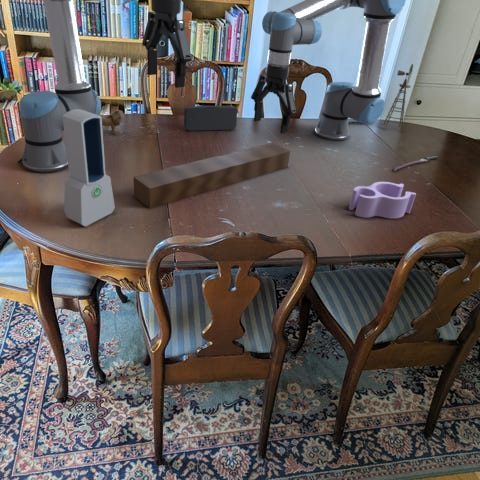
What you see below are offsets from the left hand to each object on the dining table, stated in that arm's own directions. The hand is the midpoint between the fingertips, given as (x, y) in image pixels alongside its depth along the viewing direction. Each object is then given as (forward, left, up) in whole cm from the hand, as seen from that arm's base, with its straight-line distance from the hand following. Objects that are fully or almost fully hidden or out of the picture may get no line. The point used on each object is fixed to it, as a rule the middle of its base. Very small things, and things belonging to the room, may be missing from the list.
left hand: (165, 80), depth 130 cm
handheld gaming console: (+3, +64, -36) cm, 73 cm away
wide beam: (+15, +15, -36) cm, 42 cm away
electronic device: (-17, -19, -36) cm, 44 cm away
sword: (+90, +55, -36) cm, 111 cm away
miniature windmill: (+87, +100, -36) cm, 137 cm away
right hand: (+30, +32, -20) cm, 48 cm away
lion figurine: (-36, +45, -36) cm, 68 cm away
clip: (+69, +10, -36) cm, 78 cm away
